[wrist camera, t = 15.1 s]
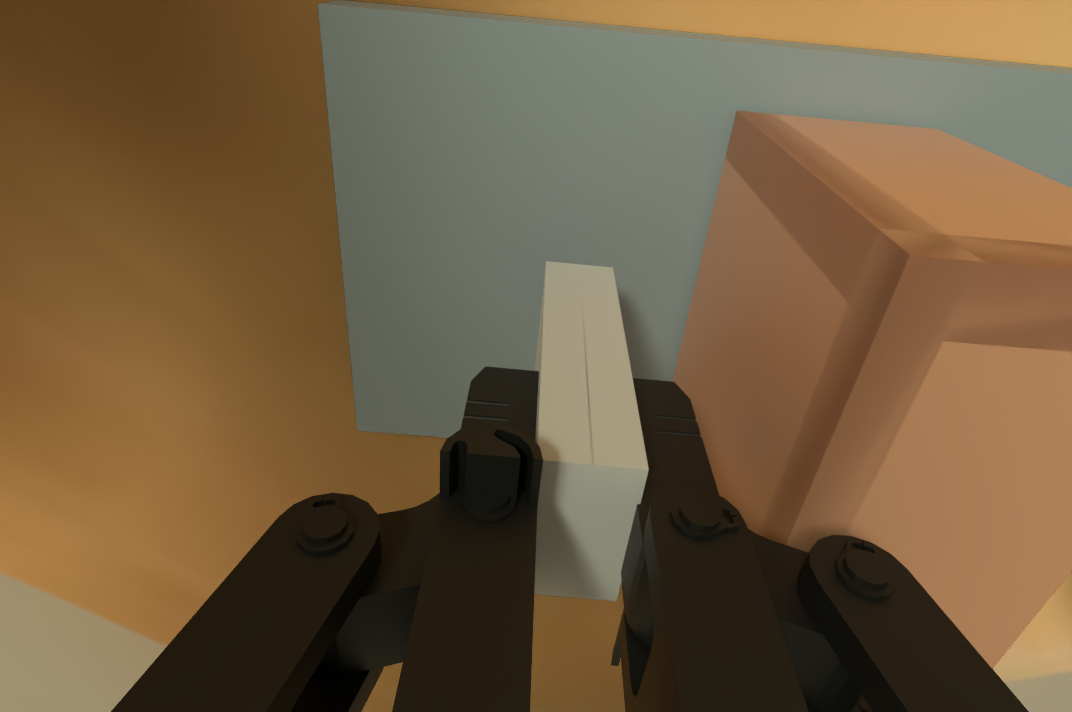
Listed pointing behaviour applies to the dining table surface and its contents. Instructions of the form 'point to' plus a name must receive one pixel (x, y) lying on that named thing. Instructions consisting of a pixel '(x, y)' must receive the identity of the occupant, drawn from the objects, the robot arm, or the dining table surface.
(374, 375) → the board
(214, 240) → the dining table surface
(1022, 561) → the block
